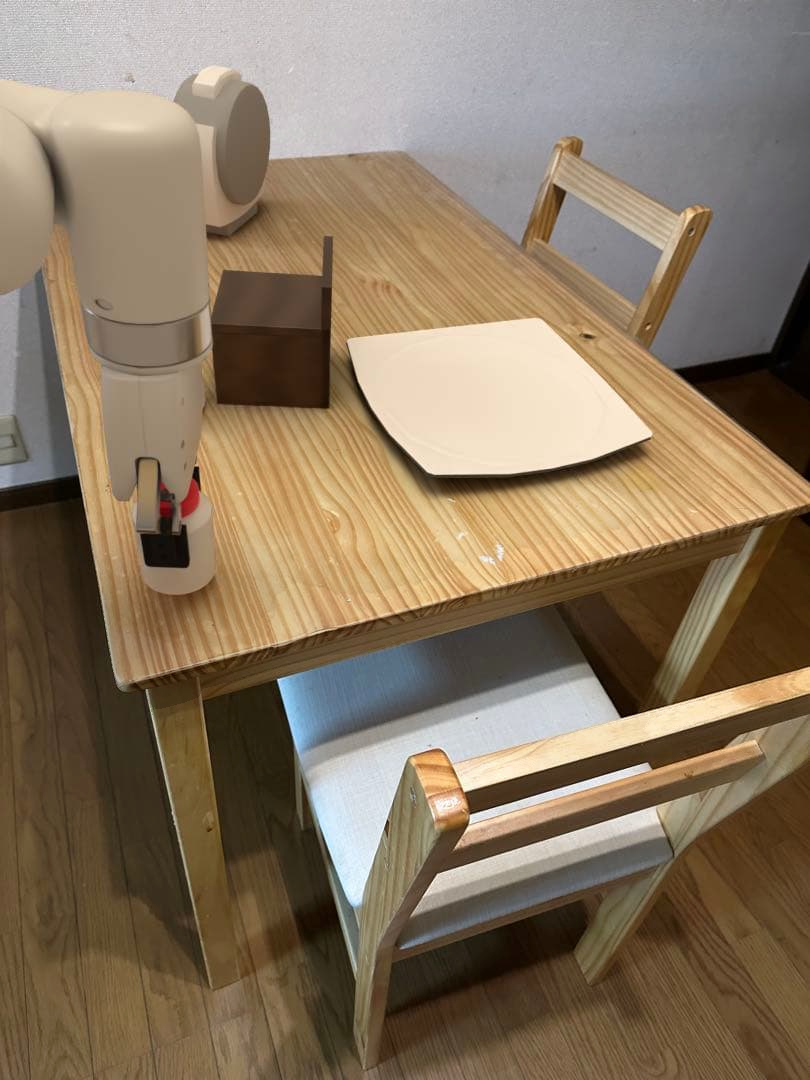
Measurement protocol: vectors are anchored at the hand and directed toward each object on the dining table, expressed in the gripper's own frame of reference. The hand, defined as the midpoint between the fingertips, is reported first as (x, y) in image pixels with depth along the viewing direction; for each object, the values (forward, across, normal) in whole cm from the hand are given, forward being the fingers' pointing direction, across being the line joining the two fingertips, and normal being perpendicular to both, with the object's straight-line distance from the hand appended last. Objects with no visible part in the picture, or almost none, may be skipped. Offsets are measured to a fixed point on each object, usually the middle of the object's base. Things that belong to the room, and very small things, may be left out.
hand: (174, 532), depth 60 cm
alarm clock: (+6, -75, -4) cm, 76 cm away
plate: (+5, -28, +30) cm, 41 cm away
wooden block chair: (+5, -32, +6) cm, 33 cm away
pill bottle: (+4, 0, 0) cm, 4 cm away
